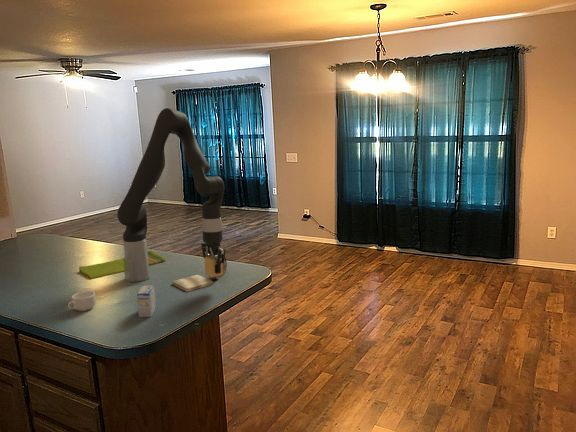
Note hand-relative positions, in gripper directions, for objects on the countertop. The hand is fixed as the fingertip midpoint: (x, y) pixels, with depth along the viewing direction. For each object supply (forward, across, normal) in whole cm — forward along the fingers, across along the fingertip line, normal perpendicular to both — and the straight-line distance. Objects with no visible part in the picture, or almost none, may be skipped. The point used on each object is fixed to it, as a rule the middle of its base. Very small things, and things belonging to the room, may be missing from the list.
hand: (214, 271), depth 179 cm
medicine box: (+9, -1, +28) cm, 30 cm away
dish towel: (+10, +57, +14) cm, 59 cm away
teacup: (+9, +17, +45) cm, 49 cm away
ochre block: (+1, 0, 0) cm, 1 cm away
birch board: (+8, +13, +2) cm, 15 cm away
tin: (+8, +14, -11) cm, 20 cm away
